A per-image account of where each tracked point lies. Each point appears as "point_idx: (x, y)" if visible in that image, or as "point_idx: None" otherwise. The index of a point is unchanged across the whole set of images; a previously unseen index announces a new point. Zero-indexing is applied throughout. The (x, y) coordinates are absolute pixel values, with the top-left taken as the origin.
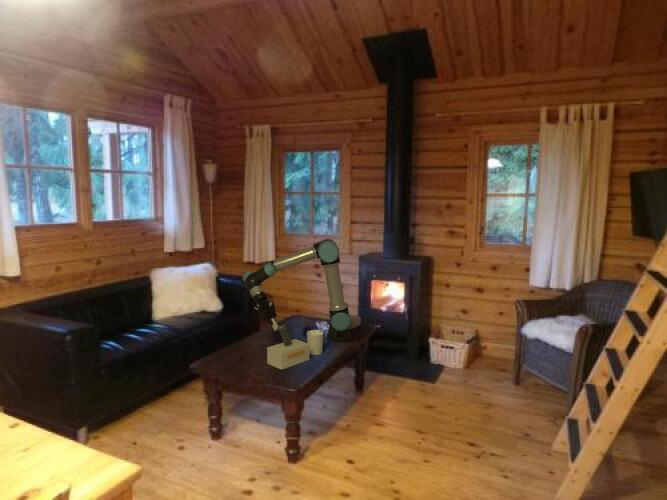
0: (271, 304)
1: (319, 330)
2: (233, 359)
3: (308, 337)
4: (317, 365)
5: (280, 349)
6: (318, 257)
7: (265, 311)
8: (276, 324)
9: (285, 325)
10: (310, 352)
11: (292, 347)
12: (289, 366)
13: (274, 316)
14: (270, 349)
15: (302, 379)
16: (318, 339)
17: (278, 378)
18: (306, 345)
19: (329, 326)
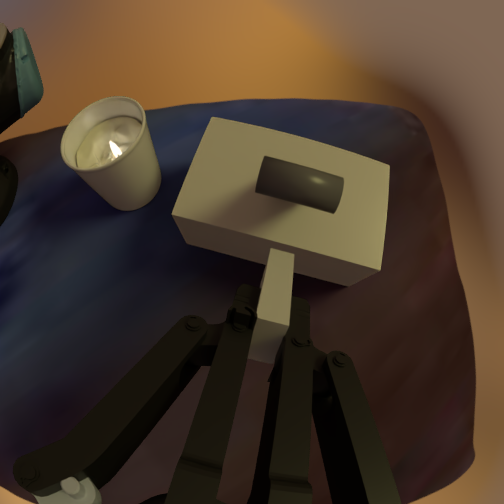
0: (78, 482)
1: (64, 134)
2: (385, 435)
3: (141, 150)
4: (251, 115)
5: (358, 192)
6: None
7: (306, 447)
8: (273, 269)
9: (278, 160)
10: (159, 180)
11: (299, 156)
12: None
13: (244, 311)
14: (382, 243)
15: (369, 112)
16: (137, 115)
17: (412, 173)
18: (231, 121)
19: None
